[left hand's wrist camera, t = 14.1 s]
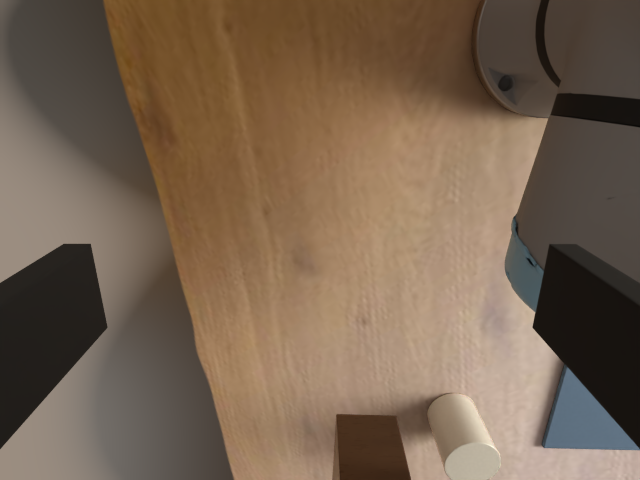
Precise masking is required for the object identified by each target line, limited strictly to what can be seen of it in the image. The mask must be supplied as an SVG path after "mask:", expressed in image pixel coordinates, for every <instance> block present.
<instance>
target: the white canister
mask: <svg viewBox="0 0 640 480" xmlns="http://www.w3.org/2000/svg"><path fill="white" fill-rule="evenodd" d="M427 418H428V421H429V424H430V428H431V431H432V434H433V437H434V440H435V443H436V446H437V449H438V452H439V455H440V458H441V461H442V464H443V467H444V470H445V472H446V474H447V476H448V477H449V478H450V479H451V480H489V479H490V478H492V477H493V476H494V475H495V474H496V473H497V472H498V470H499V468H500V465H501V457H500V454H499V452H498V450H497V448H496V446H495V444H494V442H493V440H492V438H491V436H490V434H489V432H488V430H487V428H486V426H485V424H484V422H483V420H482V418H481V416H480V414H479V411H478V409H477V407H476V405H475V404H474V402H473V401H472V400H471V399H470V398H469V397H467V396H465V395H463V394H458V393H451V394H446V395H443V396H441V397H439V398H437V399H436V400H434V401H433V402H432V404H431V405H430V407H429V409H428V412H427Z"/></svg>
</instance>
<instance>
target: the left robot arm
mask: <svg viewBox="0 0 640 480" xmlns="http://www.w3.org/2000/svg"><path fill="white" fill-rule="evenodd" d="M472 54H473V60H474V65H475V68H476V72H477V74H478V77H479V79H480V81H481V83H482V85H483V86H484V88H485V89H486V91H487V92H488V93H489V95H490V96H491V97H492V98H493V99H494V100H495V101H496V102H498V103H499V104H500V105H502V106H503V107H505V108H506V109H508V110H510V111H512V112H515V113H518V114H521V115H525V116H530V117H538V118H549V119H548V122H547V125H546V128H545V131H544V134H543V137H542V141H541V144H540V147H539V150H538V153H537V156H536V159H535V162H534V165H533V168H532V171H531V174H530V176H529V179H528V182H527V185H526V188H525V191H524V194H523V197H522V200H521V203H520V206H519V209H518V212H517V214H516V215H515V216H514V218H513V220H512V224H511V230H512V235H511V239H510V243H509V246H508V250H507V254H506V258H505V272H506V275H507V277H508V279H509V281H510V283H511V286H512V288H513V290H514V291H515V292H516V294H517V295H518V296H519V297H520V298H521V299H522V300H523V301H524V303H526V304H527V305H528V306H529V307H530V308H531V309H532V310H533V311H534V312H536V313H535V318H534V323H533V329H534V330H535V331H536V332H537V333H538V334H539V335H540V336H541V338H542V339H543V340H544V341H545V342H546V343H547V344H548V346H549V347H550V348H551V349H552V350H553V351H554V352H555V353H556V355H557V356H558V357H559V358H560V359H561V360H562V361H563V363H564V364H565V365H566V366H567V367H568V368H569V369H570V371H571V372H572V373H573V374H574V375H575V376H576V377H577V378H578V380H579V381H580V382H581V383H582V384H583V385H584V386H585V388H586V389H587V390H588V391H589V392H590V393H591V394H592V395H593V397H594V398H595V399H596V400H597V401H598V402H599V403H600V405H601V406H602V407H603V408H604V409H605V410H606V411H607V412H608V414H609V415H610V416H611V417H612V418H613V419H614V420H615V422H616V423H617V424H618V425H619V426H620V427H621V428H622V429H623V431H624V432H625V433H626V434H627V435H628V436H629V437H630V439H631V440H632V441H633V442H634V443H635V444H636V445H637V446H638V448H639V449H640V0H481V2H480V5H479V7H478V10H477V13H476V17H475V21H474V26H473V33H472ZM106 329H107V323H106V318H105V313H104V308H103V303H102V298H101V293H100V288H99V283H98V278H97V273H96V268H95V263H94V259H93V253H92V248H91V244H63V245H61V246H60V247H58V248H56V249H55V250H53V251H52V252H50V253H48V254H47V255H45V256H43V257H42V258H40V259H39V260H37V261H35V262H34V263H32V264H30V265H29V266H27V267H26V268H24V269H22V270H21V271H19V272H17V273H16V274H14V275H12V276H11V277H9V278H8V279H6V280H4V281H3V282H1V283H0V449H1V448H2V446H3V445H4V444H5V443H6V442H7V441H8V440H9V438H10V437H11V436H12V435H13V434H14V433H15V432H16V431H17V429H18V428H19V427H20V426H21V425H22V424H23V423H24V422H25V420H26V419H27V418H28V417H29V416H30V415H31V414H32V412H33V411H34V410H35V409H36V408H37V407H38V406H39V404H40V403H41V402H42V401H43V400H44V399H45V398H46V397H47V395H48V394H49V393H50V392H51V391H52V390H53V389H54V387H55V386H56V385H57V384H58V383H59V382H60V381H61V380H62V378H63V377H64V376H65V375H66V374H67V373H68V372H69V370H70V369H71V368H72V367H73V366H74V365H75V364H76V362H77V361H78V360H79V359H80V358H81V357H82V356H83V355H84V353H85V352H86V351H87V350H88V349H89V348H90V347H91V346H92V344H93V343H94V342H95V341H96V340H97V339H98V338H99V336H100V335H101V334H102V333H103V332H104V331H105V330H106Z"/></svg>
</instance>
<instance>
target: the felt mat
mask: <svg viewBox="0 0 640 480" xmlns="http://www.w3.org/2000/svg"><path fill="white" fill-rule="evenodd" d="M542 446H543V447H544V448H570V449H612V450H640V449H639V448H638V446H637V445H636V444H635V443H634V442H633V441H632V440H631V439H630V437H629V436H628V435H627V434H626V433H625V432H624V431H623V429H622V428H621V427H620V426H619V425H618V424H617V423H616V422H615V420H614V419H613V418H612V417H611V416H610V415H609V414H608V412H607V411H606V410H605V409H604V408H603V407H602V406H601V405H600V403H599V402H598V401H597V400H596V399H595V398H594V397H593V395H592V394H591V393H590V392H589V391H588V390H587V389H586V388H585V386H584V385H583V384H582V383H581V382H580V381H579V380H578V378H577V377H576V376H575V375H574V374H573V373H572V372H571V371H570V369H569V368H568V367H567V366H566V365H564V368H563V372H562V375H561V379H560V382H559V386H558V389H557V393H556V396H555V400H554V403H553V407H552V410H551V414H550V417H549V421H548V424H547V428H546V431H545V435H544V438H543V442H542Z"/></svg>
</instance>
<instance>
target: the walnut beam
mask: <svg viewBox="0 0 640 480" xmlns="http://www.w3.org/2000/svg"><path fill="white" fill-rule="evenodd" d="M332 480H411V477H410V473H409V468H408V464H407V460H406V456H405V451H404V447H403V443H402V439H401V434H400V430H399V426H398V421H397V417H396V416H382V415H345V414H337V415H336V430H335V446H334V462H333V478H332Z"/></svg>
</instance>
